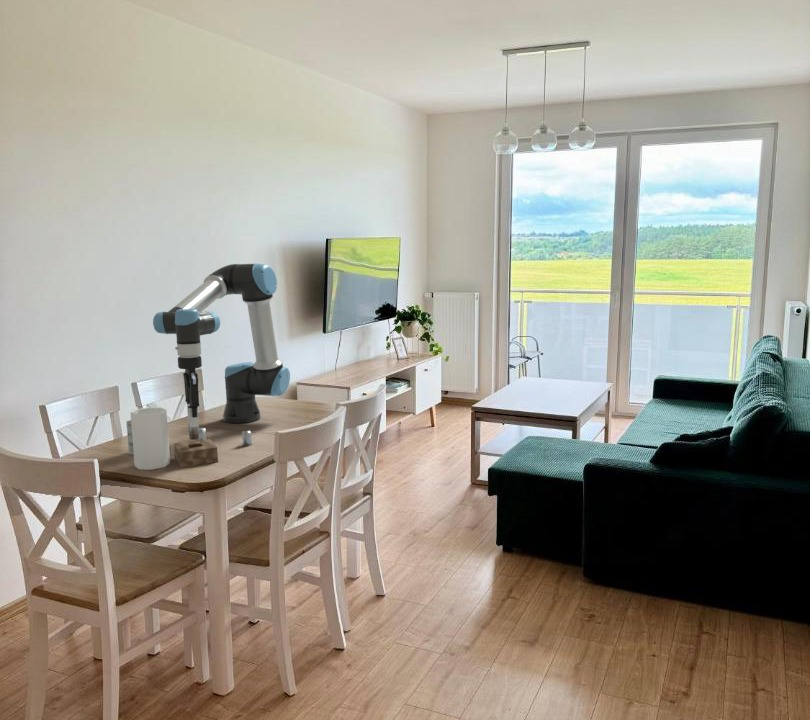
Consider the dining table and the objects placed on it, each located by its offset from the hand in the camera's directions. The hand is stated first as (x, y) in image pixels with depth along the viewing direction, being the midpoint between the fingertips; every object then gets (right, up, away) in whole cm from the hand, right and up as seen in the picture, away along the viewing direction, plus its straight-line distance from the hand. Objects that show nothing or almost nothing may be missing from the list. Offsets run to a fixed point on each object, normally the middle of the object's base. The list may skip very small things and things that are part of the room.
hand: (193, 425), depth 250 cm
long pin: (0, -5, +1) cm, 5 cm away
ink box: (-21, -11, +12) cm, 27 cm away
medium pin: (0, -10, +13) cm, 16 cm away
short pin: (+14, -9, +20) cm, 26 cm away
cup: (-13, -13, -3) cm, 19 cm away
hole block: (0, -12, +2) cm, 12 cm away
